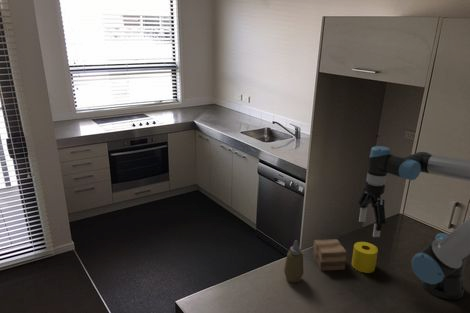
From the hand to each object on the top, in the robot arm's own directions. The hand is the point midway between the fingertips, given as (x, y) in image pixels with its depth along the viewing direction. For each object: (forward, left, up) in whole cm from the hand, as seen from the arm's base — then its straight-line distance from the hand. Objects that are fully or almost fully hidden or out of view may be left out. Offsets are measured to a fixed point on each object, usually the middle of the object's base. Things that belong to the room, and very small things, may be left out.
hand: (368, 228), depth 156 cm
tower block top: (+3, +15, -14) cm, 21 cm away
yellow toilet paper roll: (0, 0, -19) cm, 19 cm away
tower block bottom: (+3, +15, -19) cm, 24 cm away
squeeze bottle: (-7, +34, -19) cm, 40 cm away
